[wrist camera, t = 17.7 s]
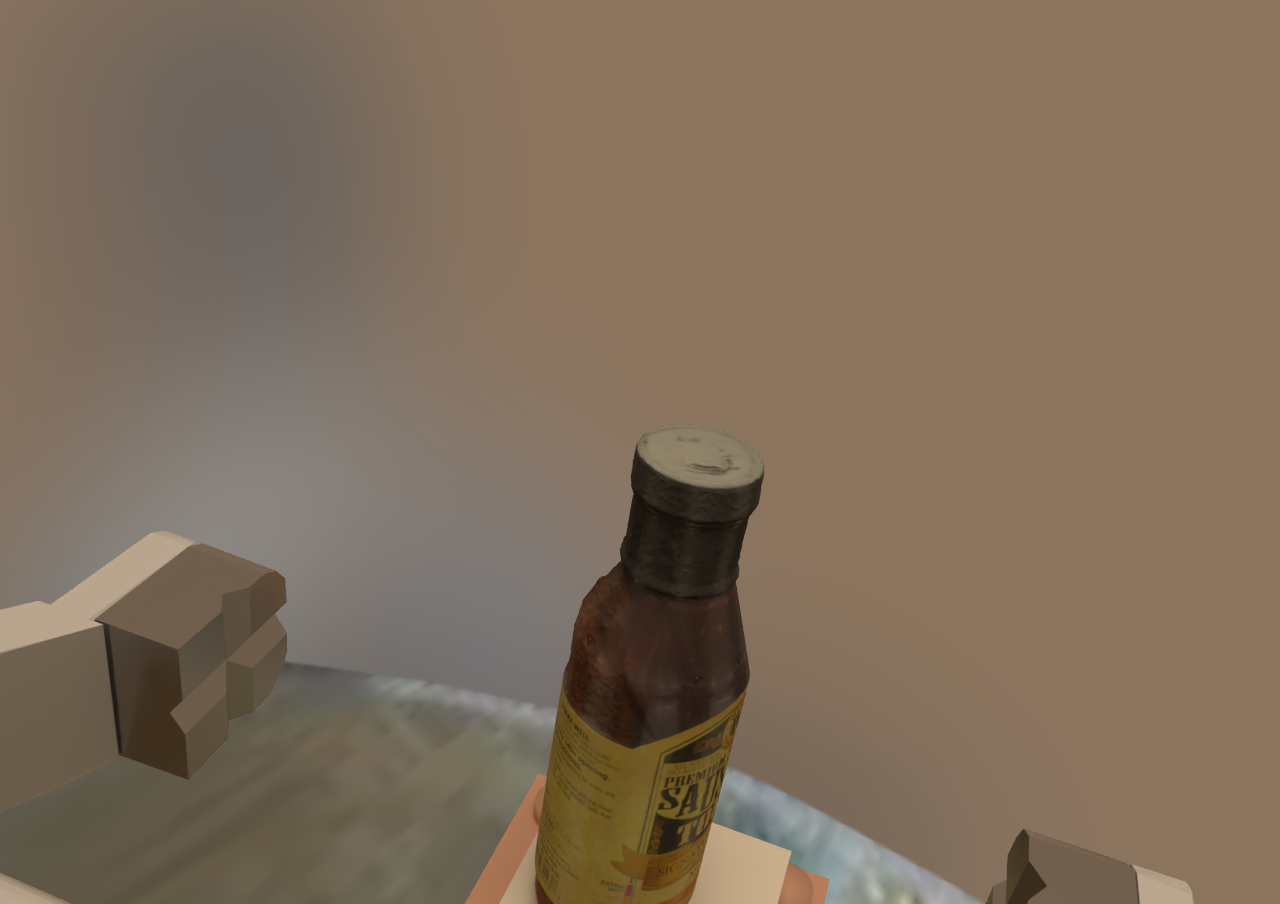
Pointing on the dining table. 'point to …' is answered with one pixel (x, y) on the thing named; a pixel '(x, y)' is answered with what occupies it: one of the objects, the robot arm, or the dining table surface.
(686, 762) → the sauce bottle
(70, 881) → the dining table surface
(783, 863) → the brick stack
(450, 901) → the dining table surface
